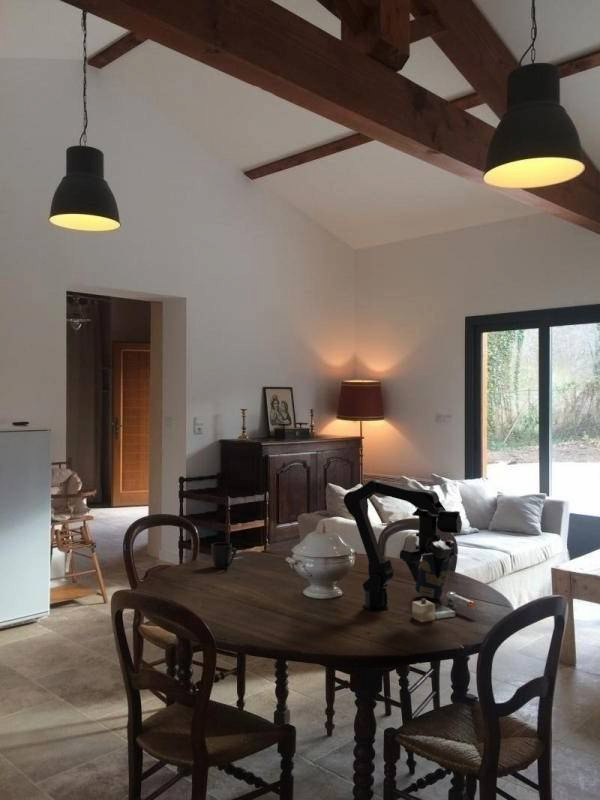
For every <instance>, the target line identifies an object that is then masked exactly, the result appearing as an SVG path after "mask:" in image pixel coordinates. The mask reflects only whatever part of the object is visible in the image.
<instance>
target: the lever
mask: <svg viewBox="0 0 600 800" xmlns="http://www.w3.org/2000/svg"><path fill="white" fill-rule="evenodd" d="M445 600H446V601H447V600H453V601H455V603H458V604H460V605H462V606H464V607H467V608H469V609H470V610H473V609H475V608H476V607H477V606H476V605H477V604H476V602H475V601H474V600H470V599H468V598H465V597H463V596H461V595H458V594H457V593H456V592H455V591H446V592H445Z"/></svg>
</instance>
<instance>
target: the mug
mask: <svg viewBox="0 0 600 800" xmlns="http://www.w3.org/2000/svg"><path fill="white" fill-rule="evenodd" d="M210 551H211V557H212V559H211V560H212V563H213V567H214V568H215V569H216V568H226V569H228V568H229V567H231V565H232V564H233V562H234V559H235V557H236V554H237V549H236V548H235V547H233V545H232V542H224V541H223V542H214V543H211V550H210Z"/></svg>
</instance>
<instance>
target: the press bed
mask: <svg viewBox="0 0 600 800" xmlns="http://www.w3.org/2000/svg"><path fill="white" fill-rule="evenodd" d="M453 617H456V611H455V610H454V609H448V608H446V607H445V605H442V604H438V603H436V604H435V620H438V619H439V620H440V619H446V618H453Z"/></svg>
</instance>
